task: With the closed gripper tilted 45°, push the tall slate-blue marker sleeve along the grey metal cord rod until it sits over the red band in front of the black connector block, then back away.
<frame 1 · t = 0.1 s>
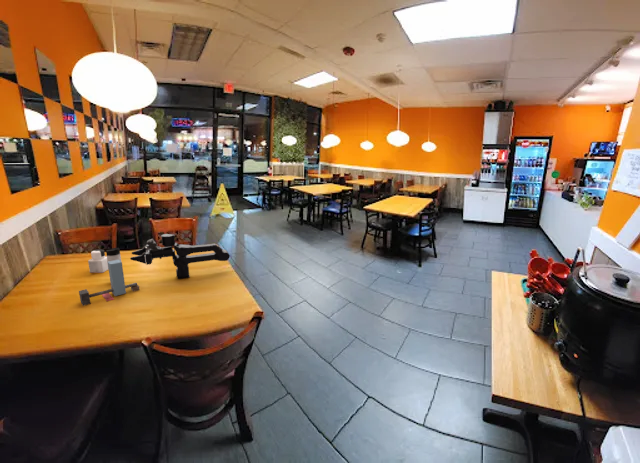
hand: (131, 255, 160), 17 cm above the table, tool horizontal, fingers open, 9 cm apart
travel mug: (117, 281, 165), on the table
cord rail: (115, 294, 150), on the table
marker sleeve: (116, 277, 149), point 9 cm above the table, slide at 0.0 cm
container: (100, 270, 178), on the table
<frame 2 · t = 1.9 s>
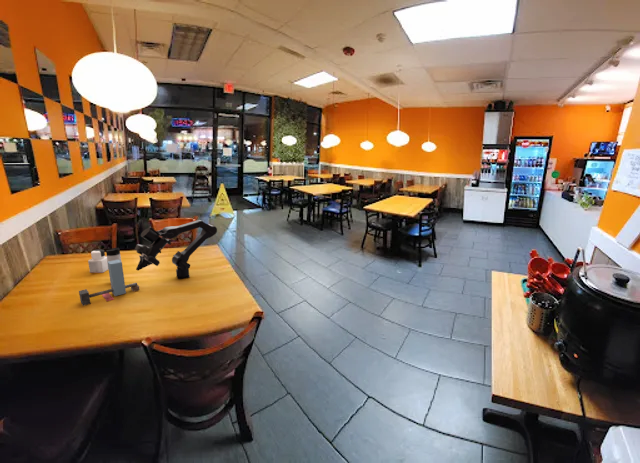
hand: (136, 270, 155), 11 cm above the table, tool tilted 45°, fingers closed
nothing on the table moved.
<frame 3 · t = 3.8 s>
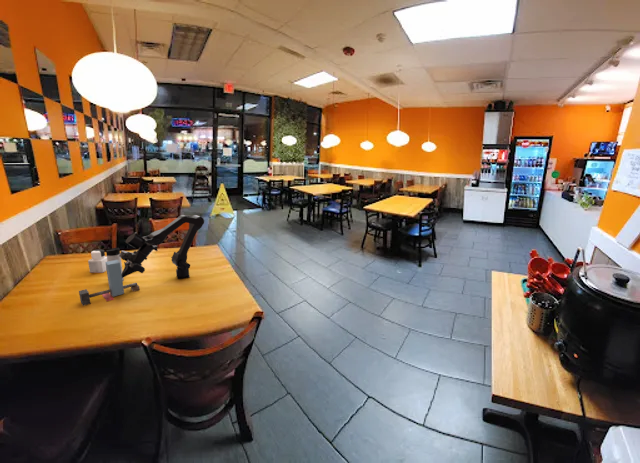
hand: (121, 277, 150), 9 cm above the table, tool tilted 45°, fingers closed, pressing on marker sleeve
marker sleeve: (114, 278, 148), point 9 cm above the table, slide at 0.9 cm, touching gripper
everything else where it was.
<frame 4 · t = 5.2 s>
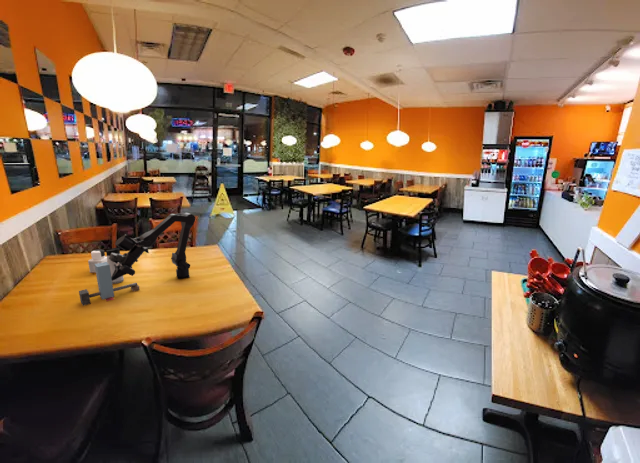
hand: (111, 280, 147), 9 cm above the table, tool tilted 45°, fingers closed, pressing on marker sleeve
marker sleeve: (104, 280, 145), point 9 cm above the table, slide at 5.3 cm, touching gripper
everything else where it was.
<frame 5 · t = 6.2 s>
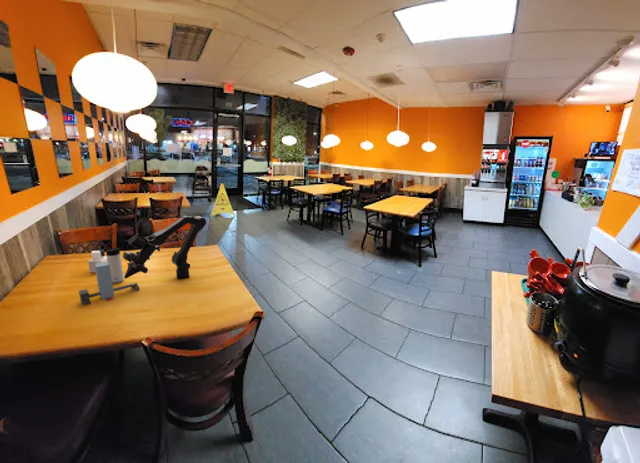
hand: (124, 277, 152), 8 cm above the table, tool tilted 45°, fingers closed
marker sleeve: (104, 280, 145), point 9 cm above the table, slide at 5.3 cm
everything else where it was.
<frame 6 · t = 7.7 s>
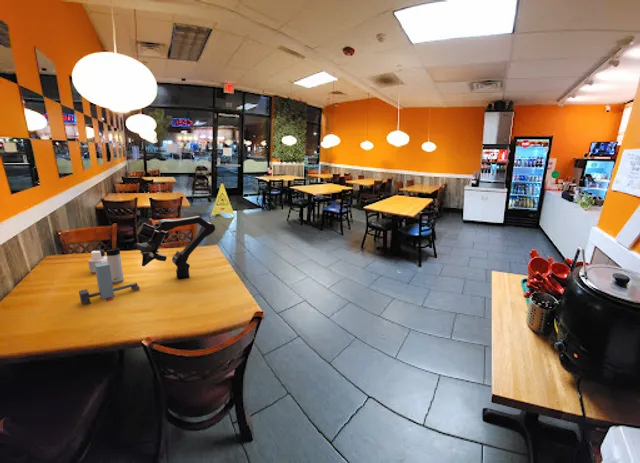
hand: (142, 266, 159), 12 cm above the table, tool tilted 30°, fingers closed
nothing on the table moved.
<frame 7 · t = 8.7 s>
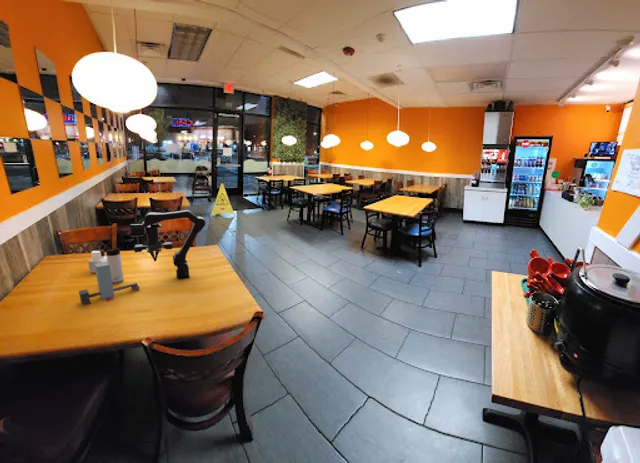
hand: (155, 261, 166), 12 cm above the table, tool pointing down, fingers closed
nothing on the table moved.
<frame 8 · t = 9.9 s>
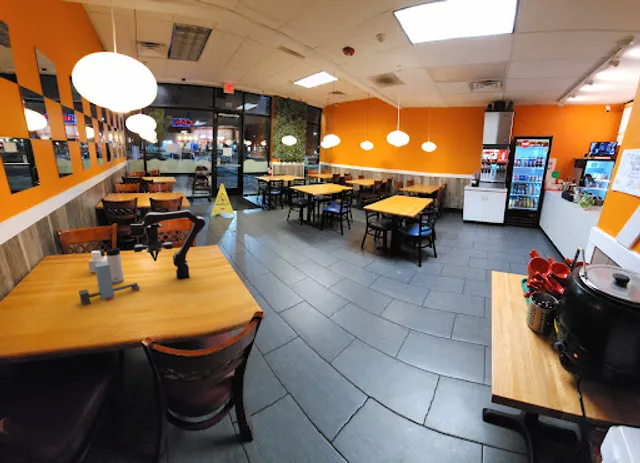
hand: (155, 261, 166), 12 cm above the table, tool pointing down, fingers closed
nothing on the table moved.
at the end: marker sleeve slide at 5.3 cm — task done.
